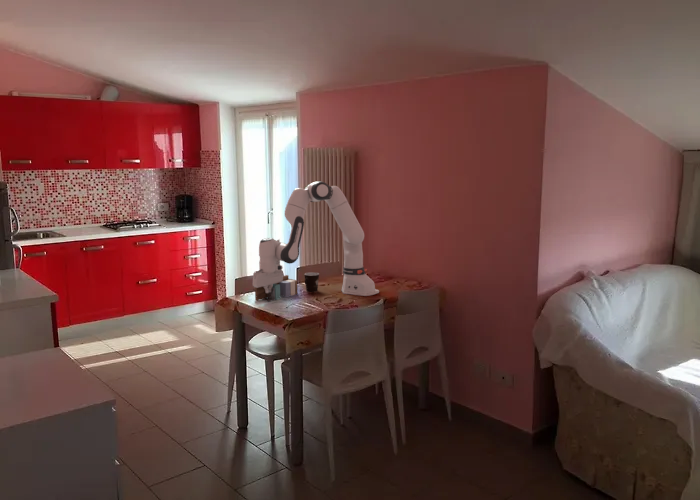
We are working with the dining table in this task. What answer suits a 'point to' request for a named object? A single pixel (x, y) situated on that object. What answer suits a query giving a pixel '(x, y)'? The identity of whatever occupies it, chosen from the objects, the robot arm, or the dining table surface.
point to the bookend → (270, 295)
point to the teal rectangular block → (277, 291)
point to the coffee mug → (311, 281)
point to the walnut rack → (262, 295)
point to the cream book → (292, 287)
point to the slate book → (285, 289)
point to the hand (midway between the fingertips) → (268, 292)
